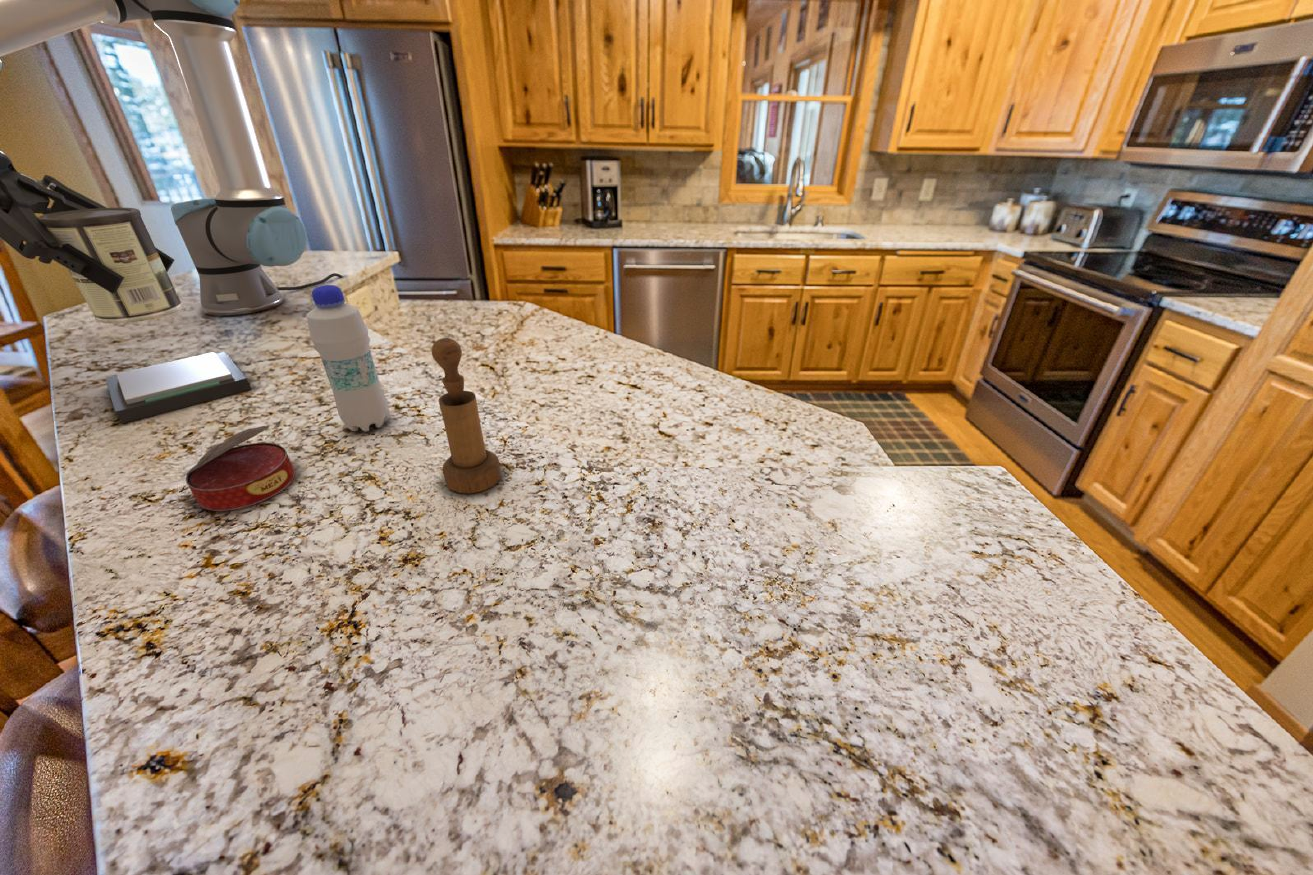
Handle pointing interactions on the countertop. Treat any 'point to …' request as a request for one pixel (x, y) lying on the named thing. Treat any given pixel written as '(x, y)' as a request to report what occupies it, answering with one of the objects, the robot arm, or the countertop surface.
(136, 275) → the coffee can
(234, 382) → the scale
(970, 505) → the countertop surface
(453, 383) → the mortar and pestle
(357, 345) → the bottle
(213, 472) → the canned food
